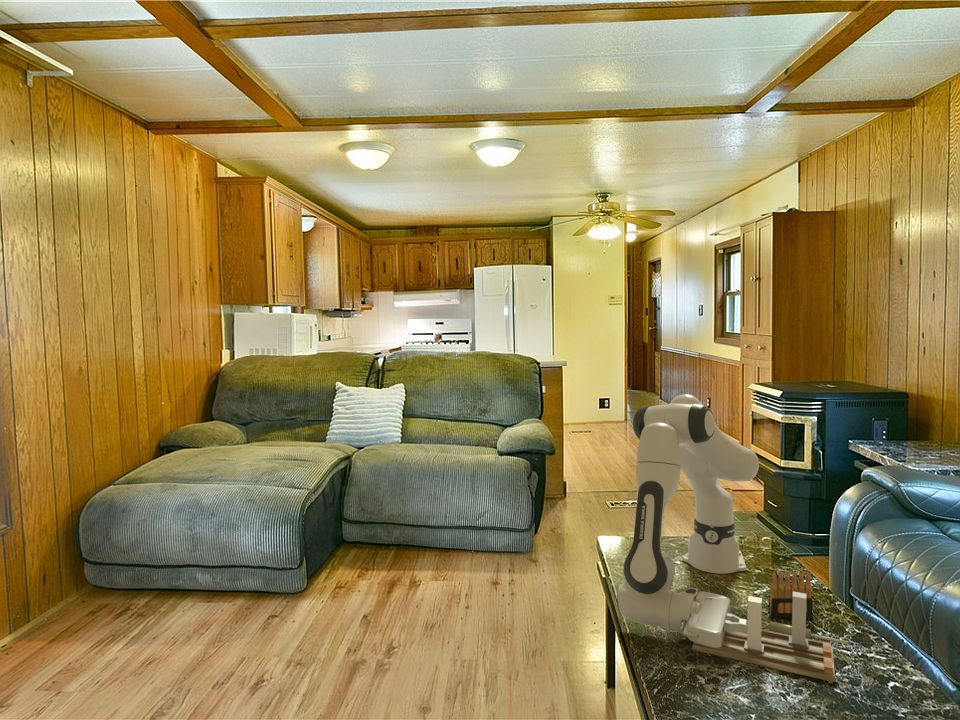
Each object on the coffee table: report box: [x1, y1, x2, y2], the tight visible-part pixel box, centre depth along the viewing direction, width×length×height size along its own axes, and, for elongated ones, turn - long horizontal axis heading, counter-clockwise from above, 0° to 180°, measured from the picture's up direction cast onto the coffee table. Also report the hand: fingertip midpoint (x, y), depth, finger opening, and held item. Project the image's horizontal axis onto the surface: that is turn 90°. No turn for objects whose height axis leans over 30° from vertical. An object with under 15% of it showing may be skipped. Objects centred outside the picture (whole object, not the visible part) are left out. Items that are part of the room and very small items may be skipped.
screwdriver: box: [768, 621, 850, 645], centre depth 149 cm, size 17×3×3 cm, turn 62°
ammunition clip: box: [767, 570, 813, 619], centre depth 160 cm, size 11×2×12 cm, turn 89°
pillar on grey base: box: [789, 591, 808, 649], centre depth 143 cm, size 4×4×12 cm
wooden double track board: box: [692, 629, 836, 683], centre depth 144 cm, size 13×29×2 cm, turn 62°
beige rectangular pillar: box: [744, 595, 764, 654], centre depth 141 cm, size 4×4×12 cm
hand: (747, 626), depth 142 cm, fingers closed, pressing on beige rectangular pillar
